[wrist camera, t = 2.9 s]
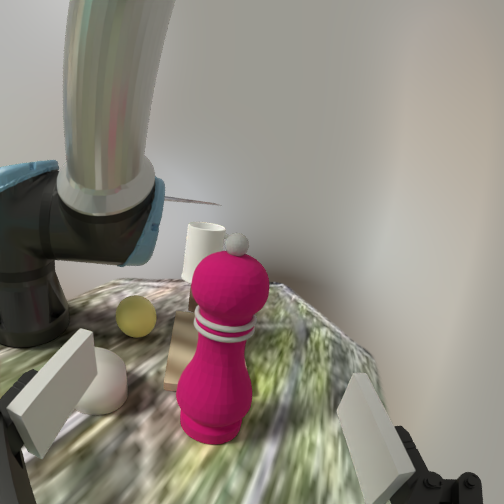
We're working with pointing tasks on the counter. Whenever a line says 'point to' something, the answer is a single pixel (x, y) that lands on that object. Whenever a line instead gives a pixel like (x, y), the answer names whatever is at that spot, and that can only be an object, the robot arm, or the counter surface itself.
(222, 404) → the pepper mill
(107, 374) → the white rounded piece
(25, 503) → the robot arm
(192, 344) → the serving board
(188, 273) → the mug
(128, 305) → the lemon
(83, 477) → the counter surface
